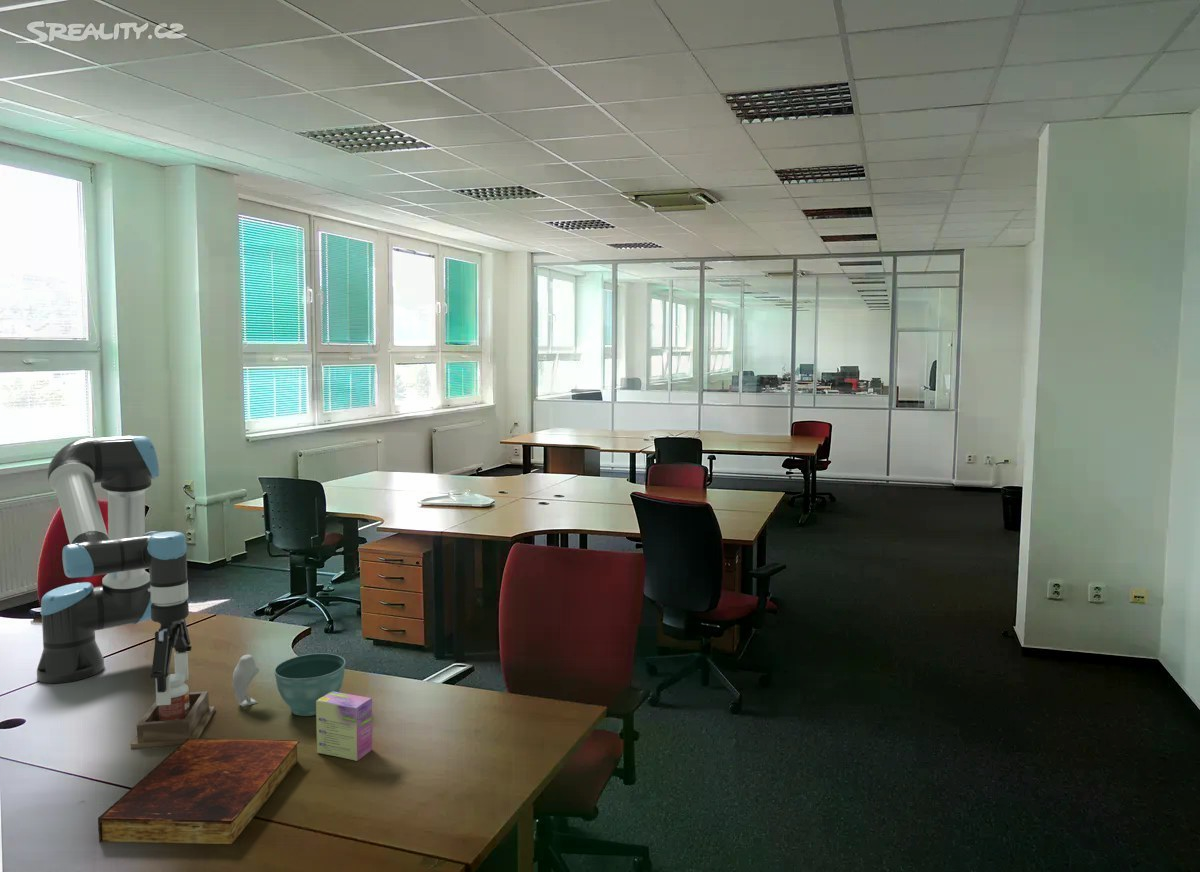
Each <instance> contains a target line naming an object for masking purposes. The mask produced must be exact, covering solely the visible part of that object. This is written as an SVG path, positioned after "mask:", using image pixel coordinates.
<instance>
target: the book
mask: <svg viewBox="0 0 1200 872" xmlns="http://www.w3.org/2000/svg"><path fill="white" fill-rule="evenodd" d="M298 744H300V740H299V739H297V740H296V739H252V738H251V739H248V738H247V739H246V738H245V739H244V738H243V739H242V738H241V739H238V738H237V739H236V738H190V739H189V738H188V739H187V740H186V741H185V742H183V743H182V744H179V746H178V747H177V748H176V749H174V750H173V751H172V752H171V753H170V754H169V755H168V756H166V757H165V759H164V758H163V760H162V761H160V762H159V764H157V765H156V766H155V767H154V768H153V769H152V770H151V771H150V772H148V773H147V774H146V775H145V776H143V778H142V779H140V780H139V781H138V782H137V783H136V784H134V785H133V786H132V787H131V788H130V789H129V790H128V791H126V793H124V794H123V795H122V796H121V797H120V798H119V799H118V800H117V801H115V802H114V803H113V805H112V804H111V806H110V807H109V808H108V809H107V810H105V812H103V813H102V814H100V815H99V817H97V825H98V826H97V827H98V842H99V843H100V844H101V843H103V842H105V843H107V842H108V843H110V842H111V843H113V842H114V843H158V844H159V843H163V844H165V843H166V844H167V843H168V844H211V845H212V844H216V845H221V844H223V845H233V843H234V842H235V841H236V840H237V838H238V837H239V836H240V834H241V833H242V832H243V830H244V829H245V828H246V827H247V825H249V823H250V822H251V820H252V819H253V818H254V817H255V816H256V815H257V813H258V812H259V810H260V809H261V808H262V807H263V806H264V804H265V803H266V802H267V800H268V799H269V798H270V797H271V795H272V794H273V793H274V792H275V791H276V789H277V788H278V787H279V785H280V784H281V782H283V780H285V777H287V775H288V774H289V772H291V770H292V769H293V768H294V767H295V765H296V764H297V763H298Z"/></svg>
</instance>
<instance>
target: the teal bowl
mask: <svg viewBox="0 0 1200 872" xmlns="http://www.w3.org/2000/svg"><path fill="white" fill-rule="evenodd" d="M345 668H346V659H345V658H344V657H342V656H341V655H338V654H334V653H325V652H324V653H323V652H320V653H308V654H302V655H299V656H295V657H292V658H289V659H285V660H284V661H282V662H280V663H279V664H277V665H276V667H275V668H274V670H273V671H274V672H273V673H274V677H275V681H276V687H277V690H278V692H279V695H280V696H281V698H282V701H284V703H285V704H286V705H287V706H288V707H289V708H290V711H291V713H292V714H294V715H295V716H299V717H300V716H301V717H311V716H312V717H313V716H316V701H317V700H318V699H320V698H321V697H323V696H325V695H326V694H328V693H330V692H332V691H334V692H339V693H340V691H341V688H342V685H343V683H344V678H345V677H344V676H345Z"/></svg>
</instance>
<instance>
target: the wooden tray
mask: <svg viewBox="0 0 1200 872" xmlns="http://www.w3.org/2000/svg"><path fill="white" fill-rule="evenodd" d="M189 707H190V711H189V713H188V714H187V716H186V717H185V719H179V720H167V721H159V706H157V705H156V700H155V701H154V702H153V704H152V705H151V707H150V708H149V709H148V710H147V712H146V713H145V714H144V715H143V716H142V718H141V719H140V720H139V721H138V722H137V724H136V736H135V738H134V739H133V740H132V741H131V742H130V749H141V748H153V747H164V746H175V745H176V746H177V745H181V744H182V743H183V742H185V741H186V740H187V739H188V738H189V739H190V738H198V739H200V736H201V735H202V733H203V731H204V729H205V728H206V726H207V725H208V723H209V721H210V720H211V718H212V716H213V715H214V713H215V711H216V706H215V705H214V706H210V701H209V691H208V690H206V691H205V690H203V691H194V692H193V691H192V692H191V691H189Z"/></svg>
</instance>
